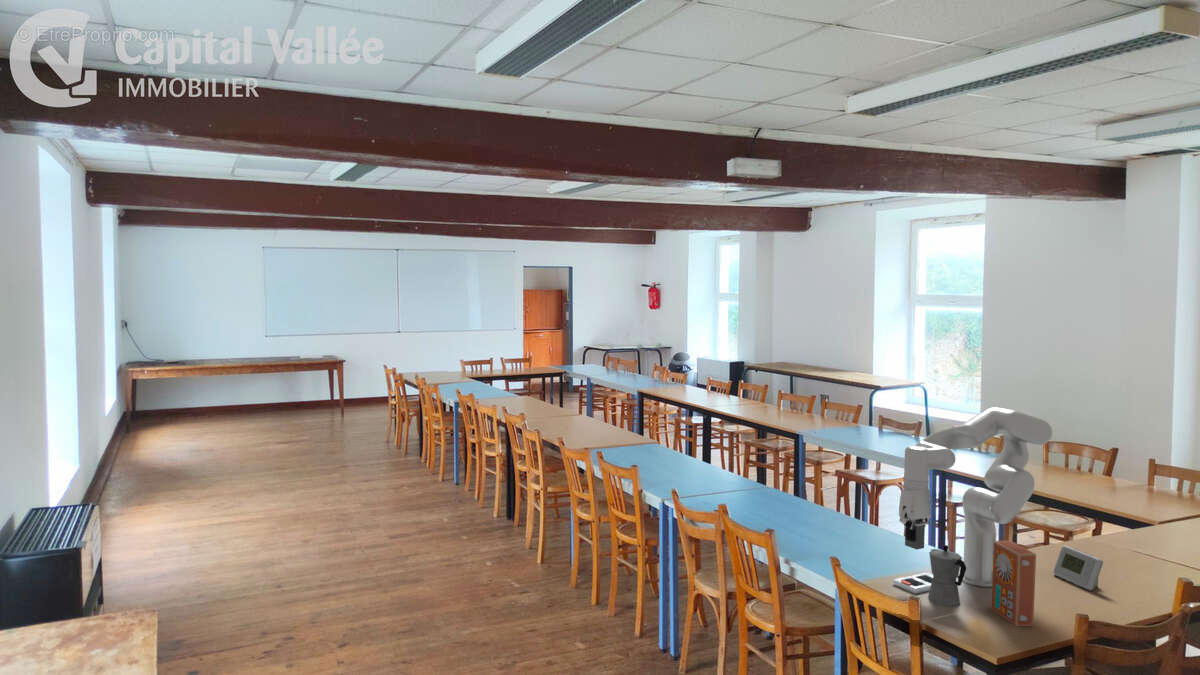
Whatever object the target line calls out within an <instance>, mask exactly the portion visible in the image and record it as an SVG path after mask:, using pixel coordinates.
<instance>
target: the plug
mask: <svg viewBox="0 0 1200 675" xmlns="http://www.w3.org/2000/svg"><path fill="white" fill-rule="evenodd" d="M909 523H910V524H911V521H909ZM904 528H905V527H904ZM914 530H915V541H914V542H912V541H909V540H907V539H906V528H905V529H904V546H906V547H909V548H911V549H914V550H922V549H924V548H925V536H926V535H925V531H926V526H925V522H922V521H919V520H915V523H914Z"/></svg>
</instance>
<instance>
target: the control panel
mask: <svg viewBox="0 0 1200 675" xmlns="http://www.w3.org/2000/svg"><path fill="white" fill-rule="evenodd" d="M993 548H994V549H993V575H992V587H991V599H990V600H991V607H990V609H991V610H992V611H994V612H995V613H996V614H997V615H999V616H1001V617H1002V618H1004V620H1006V619H1007V620H1006V621H1008V622H1009V623H1011V624H1013V626H1016V627H1032V626H1034V621H1035V620H1034V618H1035V615H1034V614H1035V596H1036V592H1035V591H1036V590H1035V589H1036V569H1037V568H1036V566H1037V554H1036V553H1035V552H1033V551H1031V550H1029V549H1027V548H1025V547H1023V546H1021V545H1019V544H1017V543H1015V542H1013V541H1011V540H996V541H994V547H993Z"/></svg>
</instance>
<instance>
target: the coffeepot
mask: <svg viewBox="0 0 1200 675" xmlns="http://www.w3.org/2000/svg"><path fill="white" fill-rule="evenodd" d="M942 547H943V550H942V549H937V548H936V549H935V548H933V549H930V551H929V552H928V553H929V561H930V568H931V574H932V575H933V579H932V582H931V587H930V591H928V592H929V593H928V595H927V598H928V600H929V601H930V602H931V603H933V604H936V605H938V606H942V607H957V606H959V605H961V600H960V593H959V588H958V587H960V586H961V585H962V583H963V581H962V580H963V577H964V574H965V572H966V566H965V564H964V560H963V559H962V558H963V557H962V556H961V555H960V554H959V553H957V552H954V551H950V550H949V548H950V546H949V545H947V544H943V545H942ZM959 573H960V574H959ZM958 575H959V576H958Z"/></svg>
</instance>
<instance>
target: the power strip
mask: <svg viewBox="0 0 1200 675" xmlns="http://www.w3.org/2000/svg"><path fill="white" fill-rule="evenodd" d="M932 579H933V574H932V573H930V572H922V573H917V574H913V575H908V576H904V577H903V576H902V577H899V578H894V579H893V581H892V584H893V585H892V586H895V587H898V588H900V589H903V590H905V591H907V592H910V593H912V594H914V595H918V594H923V593H927V592H929V591H930V587H931V582H932Z"/></svg>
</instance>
